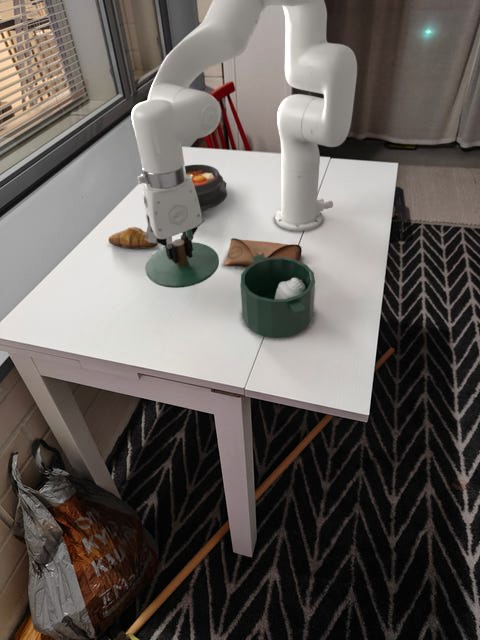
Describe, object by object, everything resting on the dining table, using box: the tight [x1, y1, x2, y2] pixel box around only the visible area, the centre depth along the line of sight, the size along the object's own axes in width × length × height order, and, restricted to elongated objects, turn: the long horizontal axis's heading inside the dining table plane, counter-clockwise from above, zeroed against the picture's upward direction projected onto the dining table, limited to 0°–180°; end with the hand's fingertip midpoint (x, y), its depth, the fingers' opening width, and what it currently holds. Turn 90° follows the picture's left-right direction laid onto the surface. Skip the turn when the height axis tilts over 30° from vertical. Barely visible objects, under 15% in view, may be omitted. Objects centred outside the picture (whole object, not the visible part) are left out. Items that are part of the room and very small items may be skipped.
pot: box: [240, 254, 316, 339], centre depth 94 cm, size 15×20×10 cm
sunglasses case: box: [223, 237, 303, 268], centre depth 111 cm, size 18×7×7 cm
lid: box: [144, 238, 220, 289], centre depth 96 cm, size 16×16×6 cm
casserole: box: [185, 164, 228, 215], centre depth 134 cm, size 25×19×8 cm
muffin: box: [275, 278, 305, 299], centre depth 95 cm, size 6×6×7 cm
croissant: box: [108, 226, 159, 250], centre depth 119 cm, size 14×7×5 cm, turn 78°
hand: (180, 256), depth 97 cm, fingers closed on lid, 2 cm apart
